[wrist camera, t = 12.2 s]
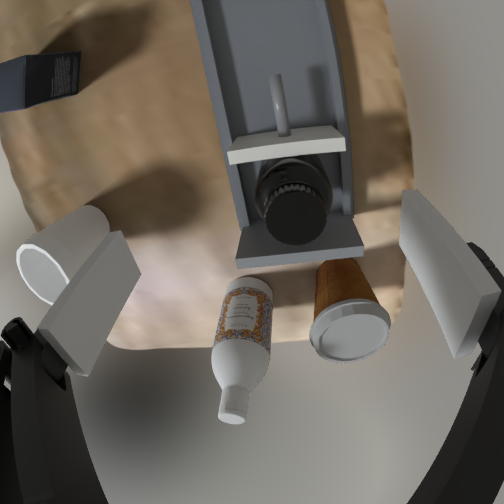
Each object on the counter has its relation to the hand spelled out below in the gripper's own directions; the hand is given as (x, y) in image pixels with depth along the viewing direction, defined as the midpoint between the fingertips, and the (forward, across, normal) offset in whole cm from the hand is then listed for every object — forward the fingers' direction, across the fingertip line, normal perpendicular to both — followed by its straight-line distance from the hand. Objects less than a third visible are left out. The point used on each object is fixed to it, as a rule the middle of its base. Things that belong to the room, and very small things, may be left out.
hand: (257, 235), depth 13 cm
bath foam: (+21, -7, -22) cm, 31 cm away
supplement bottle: (+20, +2, -4) cm, 21 cm away
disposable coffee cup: (+21, +6, -20) cm, 30 cm away
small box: (+22, -26, +17) cm, 38 cm away
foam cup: (+21, -27, -6) cm, 35 cm away
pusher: (+20, +2, +3) cm, 20 cm away
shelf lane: (+21, +2, +6) cm, 22 cm away
